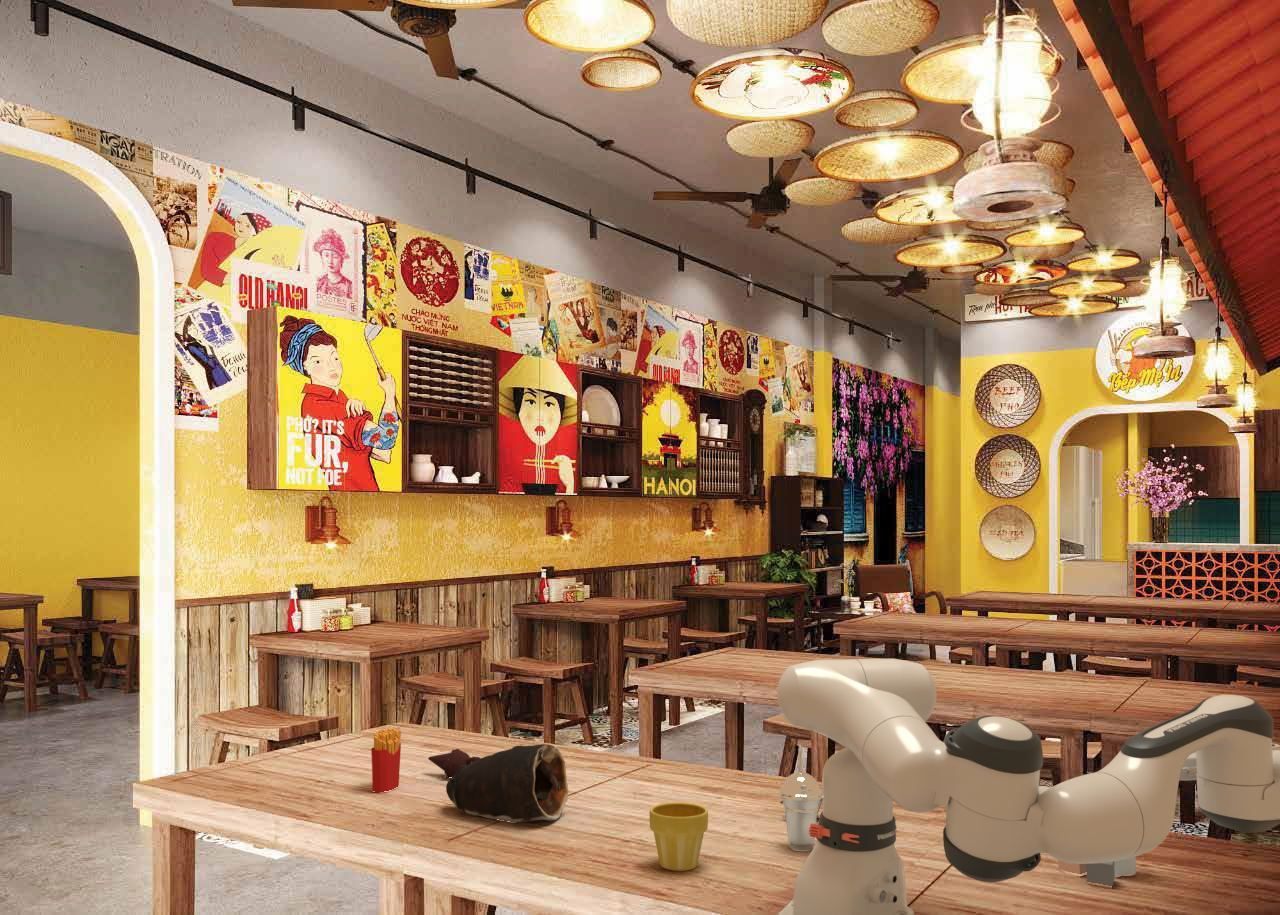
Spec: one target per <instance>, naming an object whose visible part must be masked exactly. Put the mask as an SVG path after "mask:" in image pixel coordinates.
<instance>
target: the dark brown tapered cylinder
mask: <svg viewBox="0 0 1280 915" xmlns="http://www.w3.org/2000/svg"><path fill="white" fill-rule="evenodd" d="M480 758H481V759H478V760H476V761H474V762H473V763H471V764H469V765H462V766H461V767H460V768H459V769H458V770H457V772H456V774H455V775H454V776H453V777H452V778H450V779H448V781H447V783H446V786H445V791H446V795H447V796H448V799H449V800H450V801H451V802H452V803H453V805H454V806H455V807H456V808H457V809H458V810H459V811H462V812H464V813H466V814H468V813H469V814H468V815H470V814H473V815H472V816H477V815H478V817H479V816H481V817H484V818H486V817H487V819H490V818H492V819H491V820H493V819H499V820H504V821H510V822H518V823H523V822H532V821H549V822H550V821H556V820H558V819H559V818H560V816H561V815H562V812H563V810H564V808H565V807H566V803H567V801H568V797H569V785H568V779H567V771H566V770H567V768H566V760H565V759H564V757H563V755H562V753H561V752H560V750H559V749H558V747H555V746H554V744H549V743H548V744H547V743H544V744H542V743H541V744H535V745H533V744H532V745H515V746H513V747H512V748H508V749H505V750H501V751H498V752H495V753H493V754H490V755H486V756H483V757H480Z"/></svg>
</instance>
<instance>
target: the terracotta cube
mask: <svg viewBox="0 0 1280 915" xmlns="http://www.w3.org/2000/svg"><path fill="white" fill-rule="evenodd" d="M1057 861H1058V870H1059V869H1062V870H1065V871H1068V872H1072V873H1077V874H1082V873H1085V872H1087V868H1086V864H1077V863H1067V862H1062V861H1060V860H1057Z"/></svg>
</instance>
